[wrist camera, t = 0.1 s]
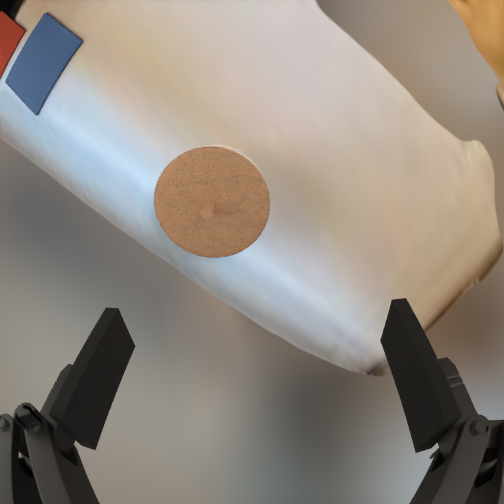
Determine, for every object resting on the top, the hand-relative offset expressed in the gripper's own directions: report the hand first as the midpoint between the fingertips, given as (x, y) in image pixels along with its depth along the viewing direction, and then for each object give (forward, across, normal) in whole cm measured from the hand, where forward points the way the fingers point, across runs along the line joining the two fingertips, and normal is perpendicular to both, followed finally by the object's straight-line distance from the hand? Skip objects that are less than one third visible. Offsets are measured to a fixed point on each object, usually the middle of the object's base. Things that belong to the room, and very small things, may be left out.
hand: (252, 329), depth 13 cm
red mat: (+28, -46, +32) cm, 62 cm away
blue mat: (+28, -33, +24) cm, 49 cm away
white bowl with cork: (+28, -5, -1) cm, 29 cm away
